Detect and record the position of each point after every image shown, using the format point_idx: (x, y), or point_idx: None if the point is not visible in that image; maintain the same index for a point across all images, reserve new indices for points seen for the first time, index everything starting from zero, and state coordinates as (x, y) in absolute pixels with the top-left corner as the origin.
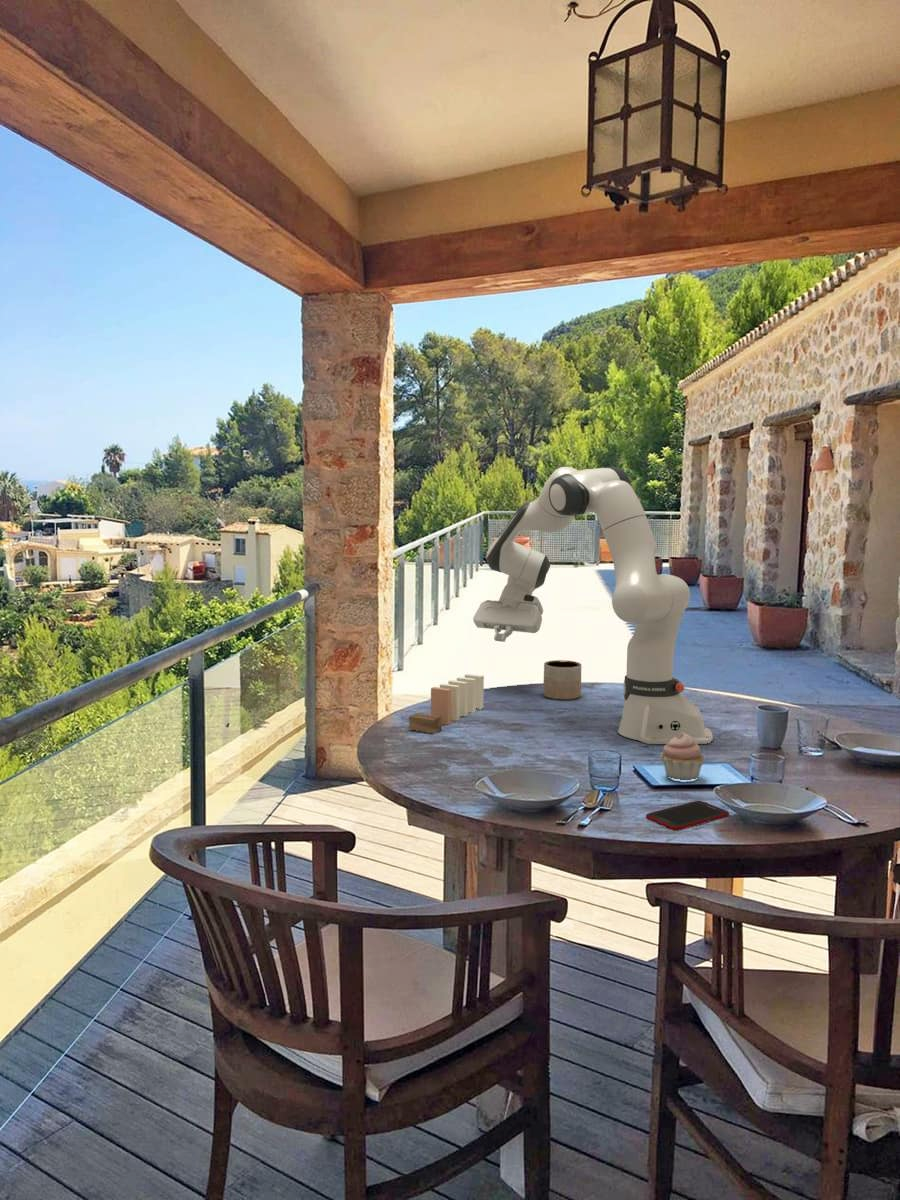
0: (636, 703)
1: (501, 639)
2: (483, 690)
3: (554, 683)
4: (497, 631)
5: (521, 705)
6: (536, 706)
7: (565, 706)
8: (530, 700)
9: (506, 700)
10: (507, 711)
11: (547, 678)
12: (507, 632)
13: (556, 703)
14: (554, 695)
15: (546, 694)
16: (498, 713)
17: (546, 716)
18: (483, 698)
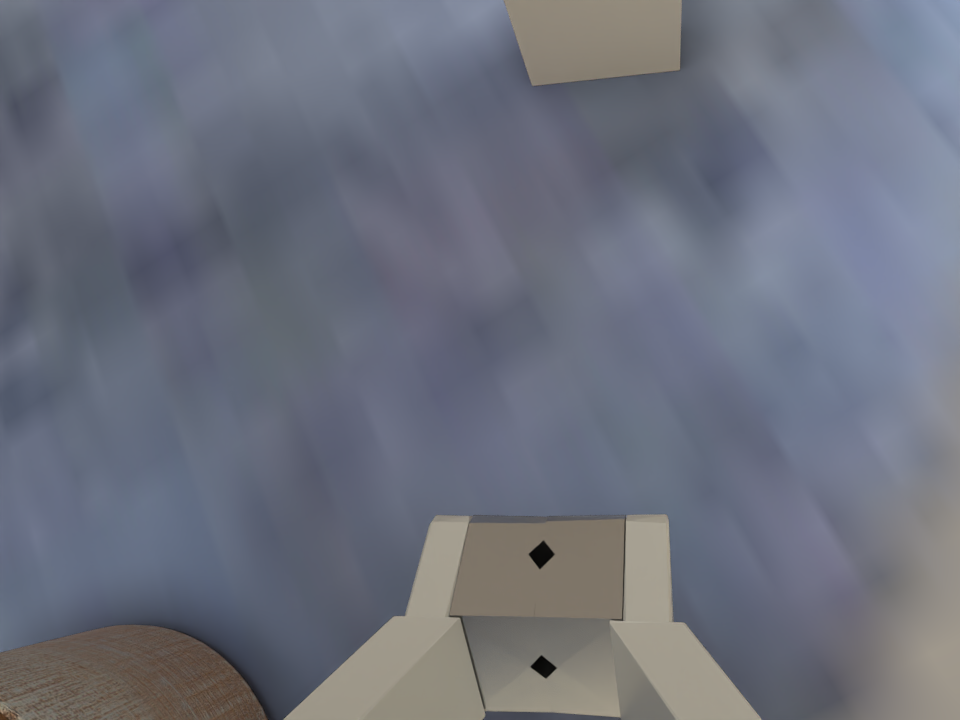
0: None
1: (480, 519)
2: (505, 3)
3: (62, 643)
4: (644, 684)
5: (314, 319)
6: (207, 353)
7: (30, 468)
8: (313, 508)
9: (483, 402)
10: (334, 107)
11: (114, 680)
12: (345, 682)
13: (110, 521)
14: (132, 626)
15: (211, 654)
16: (367, 24)
17: (66, 145)
18: (519, 46)
